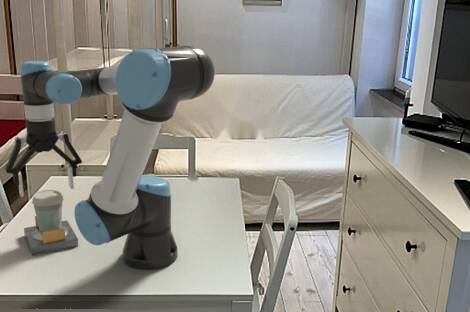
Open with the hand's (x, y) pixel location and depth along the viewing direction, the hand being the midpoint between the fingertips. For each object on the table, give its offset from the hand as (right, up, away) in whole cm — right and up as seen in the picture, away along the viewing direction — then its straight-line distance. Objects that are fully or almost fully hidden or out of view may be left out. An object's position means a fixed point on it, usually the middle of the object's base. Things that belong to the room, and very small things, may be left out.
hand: (47, 191), depth 148 cm
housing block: (-1, -15, +5) cm, 16 cm away
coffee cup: (0, -13, +4) cm, 13 cm away
